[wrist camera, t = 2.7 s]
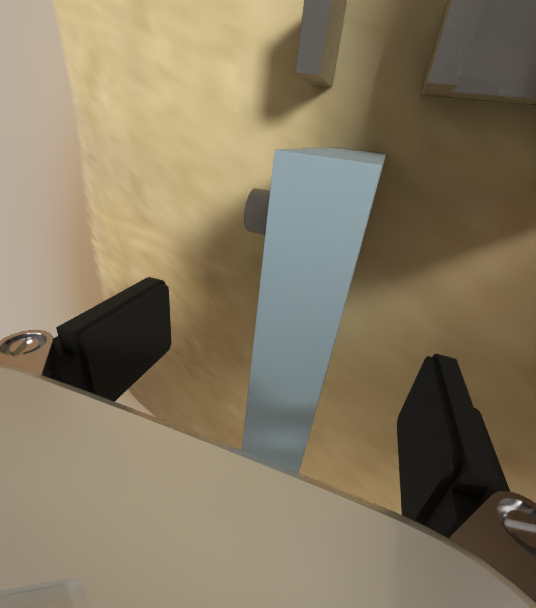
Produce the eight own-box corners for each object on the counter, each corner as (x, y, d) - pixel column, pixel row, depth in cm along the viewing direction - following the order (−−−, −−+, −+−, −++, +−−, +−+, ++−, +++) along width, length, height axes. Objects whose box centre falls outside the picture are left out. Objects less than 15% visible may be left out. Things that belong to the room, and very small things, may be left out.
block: (386, 154, 15) (381, 165, 7) (333, 347, 21) (296, 480, 13) (313, 144, 16) (229, 142, 8) (282, 332, 22) (216, 447, 13)
